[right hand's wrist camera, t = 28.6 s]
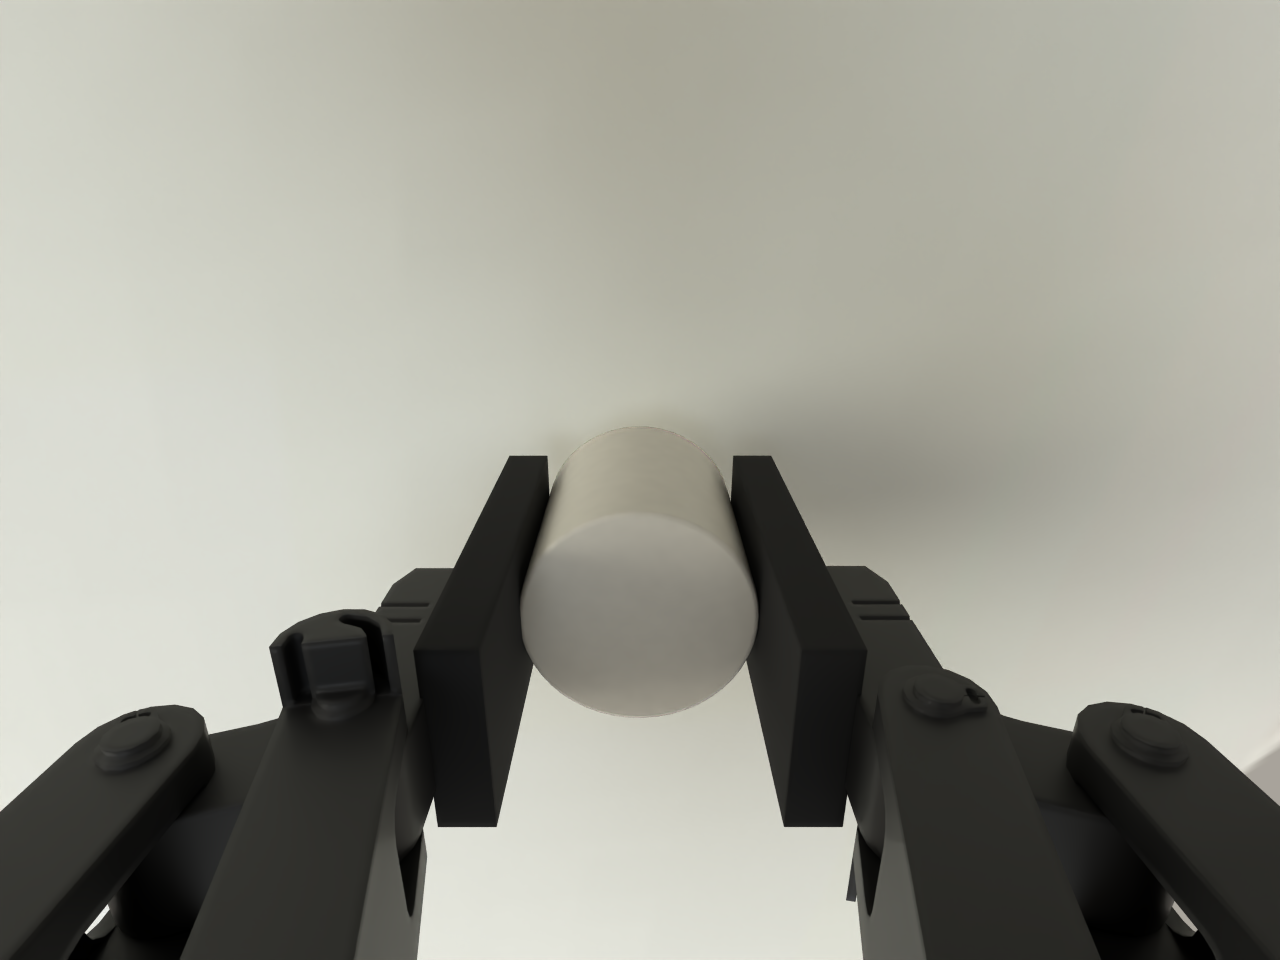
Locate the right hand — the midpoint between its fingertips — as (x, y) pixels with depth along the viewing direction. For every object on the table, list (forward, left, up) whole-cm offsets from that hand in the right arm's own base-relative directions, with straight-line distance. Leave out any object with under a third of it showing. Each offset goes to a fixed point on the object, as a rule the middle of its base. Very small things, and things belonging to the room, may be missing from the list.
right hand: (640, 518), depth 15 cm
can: (0, 0, 0) cm, 0 cm away
